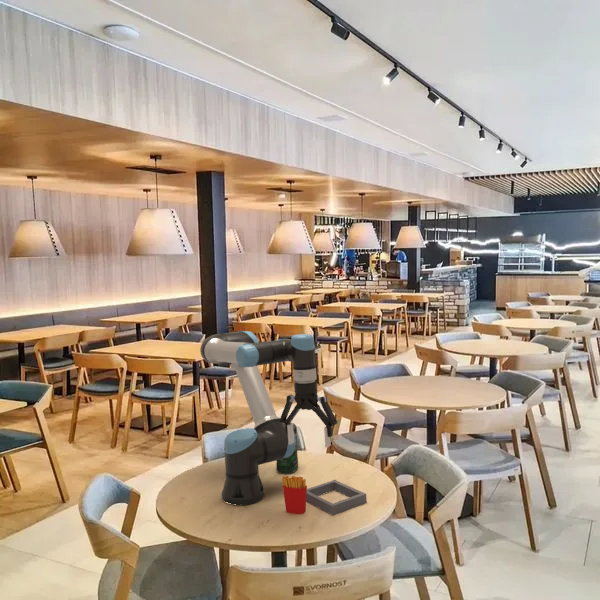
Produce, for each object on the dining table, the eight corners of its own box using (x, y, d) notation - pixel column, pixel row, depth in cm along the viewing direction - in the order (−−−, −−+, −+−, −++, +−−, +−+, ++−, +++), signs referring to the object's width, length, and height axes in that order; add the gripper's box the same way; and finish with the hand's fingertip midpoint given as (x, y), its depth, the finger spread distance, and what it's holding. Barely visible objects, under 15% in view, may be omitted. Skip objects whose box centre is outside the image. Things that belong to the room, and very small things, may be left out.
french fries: (309, 510, 193) (307, 475, 192) (305, 515, 190) (303, 479, 189) (285, 507, 196) (284, 473, 196) (281, 512, 193) (279, 477, 192)
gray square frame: (301, 499, 203) (301, 490, 202) (334, 487, 211) (334, 479, 211) (332, 515, 189) (332, 506, 189) (366, 502, 198) (366, 493, 197)
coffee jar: (293, 475, 226) (291, 428, 224) (274, 473, 228) (272, 427, 227) (301, 466, 235) (299, 421, 233) (282, 465, 237) (280, 420, 236)
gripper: (267, 382, 193) (271, 445, 194) (335, 384, 182) (339, 451, 183) (278, 378, 200) (282, 439, 201) (344, 380, 189) (348, 444, 189)
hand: (309, 444), depth 192 cm, fingers open, 13 cm apart
